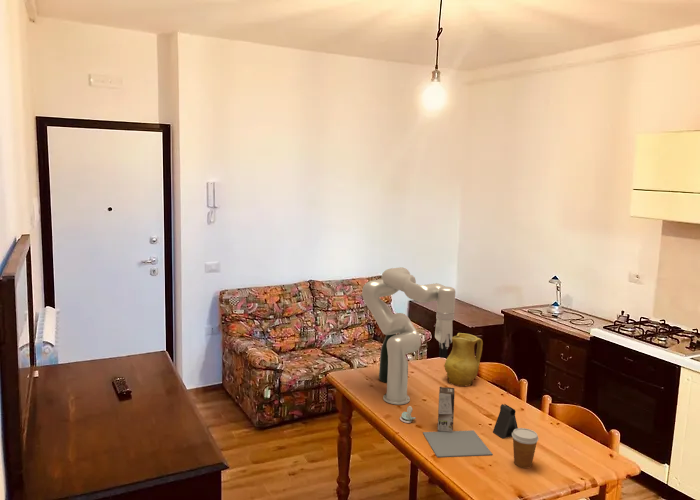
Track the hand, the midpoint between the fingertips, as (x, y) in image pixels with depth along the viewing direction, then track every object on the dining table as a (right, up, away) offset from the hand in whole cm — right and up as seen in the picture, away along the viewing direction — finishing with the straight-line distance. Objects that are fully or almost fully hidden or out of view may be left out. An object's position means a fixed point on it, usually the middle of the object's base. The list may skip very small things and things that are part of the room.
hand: (442, 357), depth 240 cm
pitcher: (+18, -23, +50) cm, 58 cm away
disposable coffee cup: (+24, -34, -32) cm, 53 cm away
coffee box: (0, -29, -5) cm, 29 cm away
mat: (+2, -31, -19) cm, 36 cm away
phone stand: (+25, -31, -8) cm, 40 cm away
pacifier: (-15, -28, +2) cm, 32 cm away
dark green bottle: (-20, -22, +49) cm, 57 cm away
